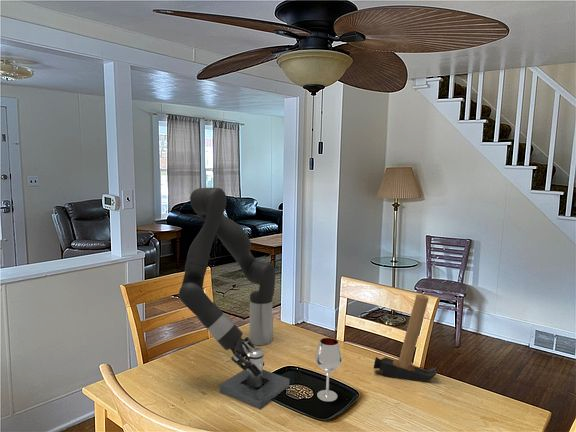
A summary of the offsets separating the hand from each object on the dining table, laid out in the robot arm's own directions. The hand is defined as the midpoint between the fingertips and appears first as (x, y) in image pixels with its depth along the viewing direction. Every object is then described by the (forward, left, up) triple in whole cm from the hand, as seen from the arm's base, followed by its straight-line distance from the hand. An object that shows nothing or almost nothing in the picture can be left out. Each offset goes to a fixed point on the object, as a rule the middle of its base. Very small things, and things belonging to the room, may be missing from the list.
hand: (260, 370), depth 133 cm
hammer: (-36, +35, -7) cm, 51 cm away
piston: (+1, -2, -5) cm, 5 cm away
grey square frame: (+1, -2, -7) cm, 7 cm away
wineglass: (-9, +19, -7) cm, 23 cm away
